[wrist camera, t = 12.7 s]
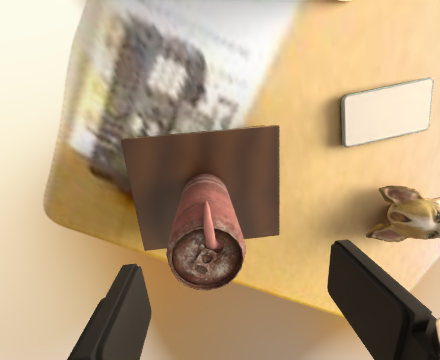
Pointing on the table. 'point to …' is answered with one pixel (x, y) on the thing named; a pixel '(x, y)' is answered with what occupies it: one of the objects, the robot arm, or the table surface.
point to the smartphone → (386, 112)
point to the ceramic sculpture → (408, 216)
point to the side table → (205, 164)
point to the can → (205, 236)
